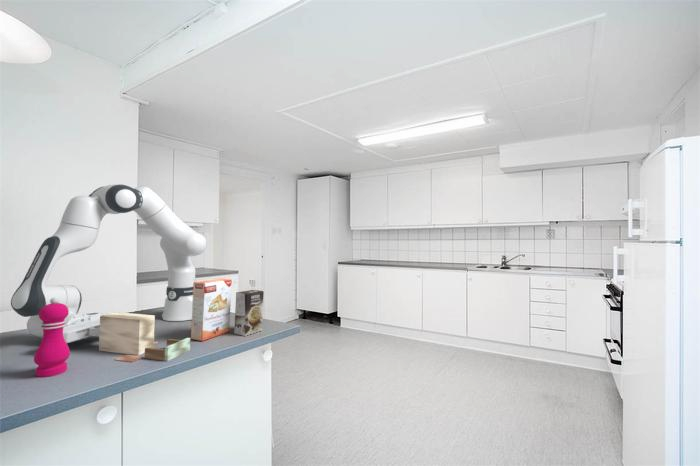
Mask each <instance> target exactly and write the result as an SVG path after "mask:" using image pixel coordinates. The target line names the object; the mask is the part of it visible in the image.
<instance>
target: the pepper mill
mask: <svg viewBox="0 0 700 466" xmlns="http://www.w3.org/2000/svg"><path fill="white" fill-rule="evenodd" d="M50 302H51V304H48V305H46V306H44V307H43V308H42V309H41V310H40V312H39V318H40V319H41V320H42V321H43V322H42V323H41V325H42V326H41V329H43V338H42V339H41V342H40V344H39V346H38V347H37V349H36V351H35V353H34V356H33V362H34V363H35V364H36V365H37V367H36V368H35V376H36V377H38V378H45V377H47V378H48V377H54V376H57V375H60V374H63V373H65V372H66V371H67V369H68V363H67V362H66V361H67V360H68V359H69V357H70V355H71V353H70V347H69V345H68V343H66V342H65V340H64V337H63V327H64V326H65V325H66V324H65V322H66V321H65V320H64V319H65V318H66V317H67V316H68V313H69V310H68V307H67V306H66V305H64V304H61V303H58V302H59V299H58V298H52V299H51V300H50Z"/></svg>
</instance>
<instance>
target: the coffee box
mask: <svg viewBox="0 0 700 466" xmlns="http://www.w3.org/2000/svg"><path fill="white" fill-rule="evenodd" d="M264 292H265V291H264V290H259V289H258V290H256V289H255V290H254V289H250V290H244V291H243V290H242V291H237V292H236V293H235V307H234V308H235V310H234V311H235V313H234V332H233V334H235V335H238V336H243V337H248V336H250V334H251V335H254V334H257V333H260V332H259V331H261V332H263V321H264V320H263V317H264ZM256 332H257V333H256ZM253 333H254V334H253ZM247 335H248V336H247Z"/></svg>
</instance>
